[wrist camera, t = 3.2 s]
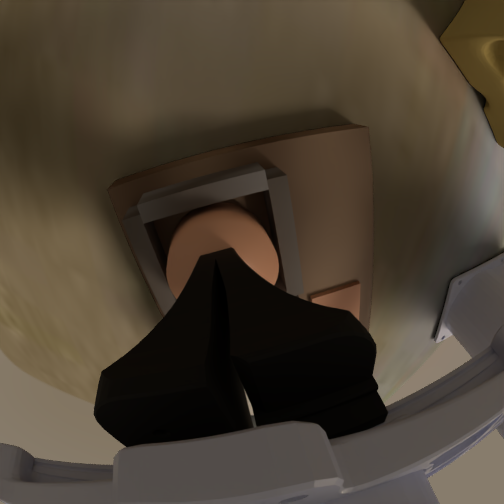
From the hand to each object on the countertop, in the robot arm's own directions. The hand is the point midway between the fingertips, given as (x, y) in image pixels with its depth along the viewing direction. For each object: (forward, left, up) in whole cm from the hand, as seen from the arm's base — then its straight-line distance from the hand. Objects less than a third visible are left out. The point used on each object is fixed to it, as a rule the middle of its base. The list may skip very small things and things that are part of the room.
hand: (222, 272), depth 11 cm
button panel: (-2, +7, -4) cm, 8 cm away
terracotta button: (0, 0, -2) cm, 2 cm away
